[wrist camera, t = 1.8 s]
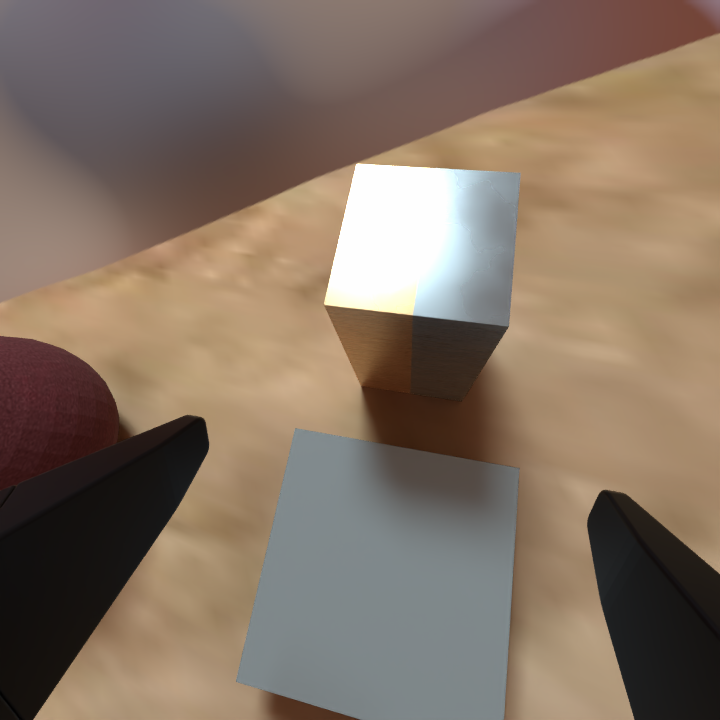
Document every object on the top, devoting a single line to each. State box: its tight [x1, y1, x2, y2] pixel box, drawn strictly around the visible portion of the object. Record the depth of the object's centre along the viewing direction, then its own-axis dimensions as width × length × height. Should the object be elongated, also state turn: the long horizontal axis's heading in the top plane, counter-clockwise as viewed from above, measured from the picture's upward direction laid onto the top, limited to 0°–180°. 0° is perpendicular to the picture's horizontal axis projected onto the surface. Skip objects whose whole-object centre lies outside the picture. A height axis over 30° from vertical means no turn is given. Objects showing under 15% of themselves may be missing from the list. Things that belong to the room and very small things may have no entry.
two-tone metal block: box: [324, 164, 520, 401], centre depth 19 cm, size 6×6×11 cm
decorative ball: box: [0, 336, 119, 490], centre depth 20 cm, size 10×10×10 cm
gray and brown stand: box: [236, 428, 519, 720], centre depth 19 cm, size 11×11×3 cm
